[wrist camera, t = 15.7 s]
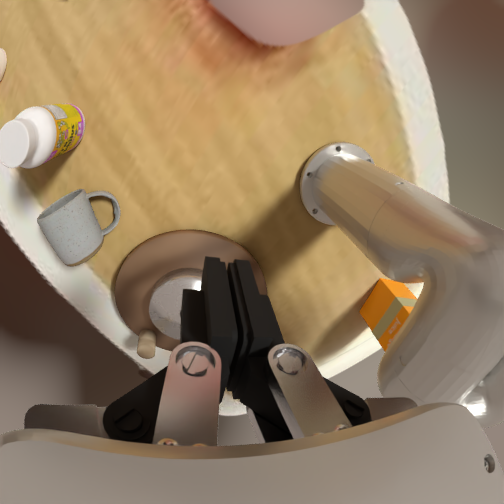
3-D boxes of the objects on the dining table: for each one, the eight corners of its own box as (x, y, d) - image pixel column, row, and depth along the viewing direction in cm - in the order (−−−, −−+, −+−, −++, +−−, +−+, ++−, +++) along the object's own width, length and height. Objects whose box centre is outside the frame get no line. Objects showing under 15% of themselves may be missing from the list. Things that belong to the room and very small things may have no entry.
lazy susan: (292, 299, 46) (302, 321, 41) (190, 362, 50) (191, 385, 46) (195, 194, 34) (195, 210, 29) (90, 293, 38) (80, 316, 34)
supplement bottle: (68, 160, 29) (17, 192, 18) (39, 133, 26) (-18, 155, 15) (96, 121, 27) (47, 134, 16) (65, 93, 24) (9, 97, 13)
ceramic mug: (75, 249, 35) (57, 278, 29) (51, 202, 31) (26, 225, 24) (132, 225, 36) (120, 253, 29) (108, 173, 31) (89, 190, 25)
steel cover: (244, 302, 43) (247, 316, 40) (188, 337, 45) (188, 351, 42) (193, 252, 37) (193, 265, 34) (135, 296, 39) (132, 311, 36)
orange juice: (403, 282, 52) (458, 347, 35) (382, 313, 56) (428, 380, 39) (379, 277, 49) (437, 351, 32) (358, 312, 53) (404, 386, 36)
